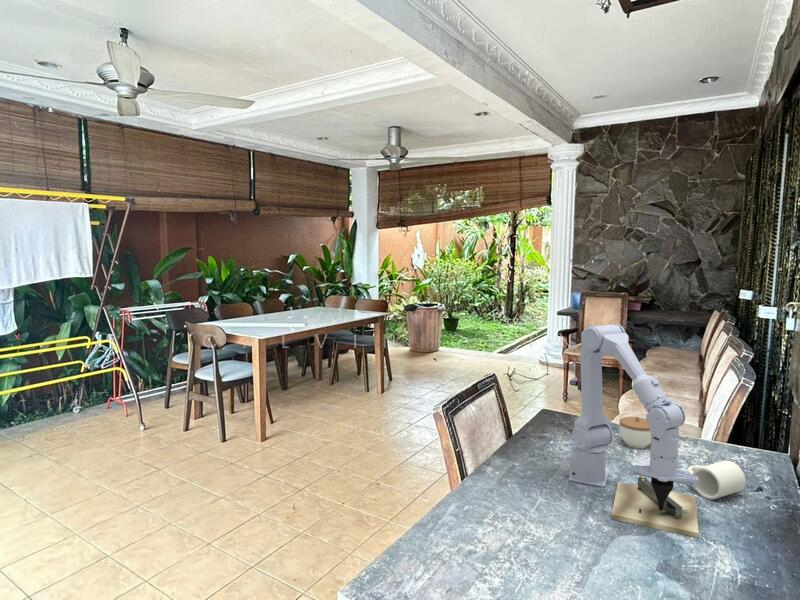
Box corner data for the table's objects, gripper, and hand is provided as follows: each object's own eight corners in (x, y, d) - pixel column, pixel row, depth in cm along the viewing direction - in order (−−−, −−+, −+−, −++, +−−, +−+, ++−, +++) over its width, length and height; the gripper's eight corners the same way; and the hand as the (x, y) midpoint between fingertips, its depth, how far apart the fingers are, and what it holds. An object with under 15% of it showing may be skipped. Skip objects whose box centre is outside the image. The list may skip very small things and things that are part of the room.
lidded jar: (658, 444, 168) (660, 416, 167) (648, 454, 160) (650, 425, 159) (624, 436, 175) (625, 409, 174) (613, 445, 167) (614, 417, 166)
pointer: (674, 518, 119) (674, 505, 119) (635, 487, 135) (636, 474, 135) (683, 518, 120) (683, 504, 119) (643, 486, 136) (644, 474, 135)
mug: (745, 496, 133) (747, 467, 132) (720, 505, 129) (721, 474, 128) (701, 478, 144) (702, 450, 143) (676, 485, 139) (678, 457, 139)
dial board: (611, 518, 122) (611, 513, 122) (617, 485, 139) (618, 481, 139) (698, 538, 114) (698, 532, 114) (694, 500, 131) (694, 495, 131)
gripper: (629, 454, 121) (626, 509, 122) (700, 466, 114) (696, 524, 116) (630, 444, 127) (628, 496, 129) (698, 454, 120) (695, 509, 122)
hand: (660, 508), depth 123 cm, fingers closed
